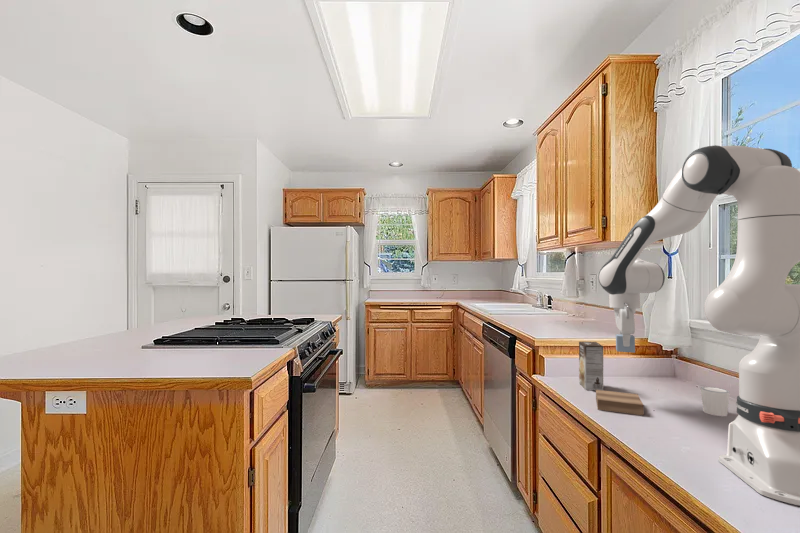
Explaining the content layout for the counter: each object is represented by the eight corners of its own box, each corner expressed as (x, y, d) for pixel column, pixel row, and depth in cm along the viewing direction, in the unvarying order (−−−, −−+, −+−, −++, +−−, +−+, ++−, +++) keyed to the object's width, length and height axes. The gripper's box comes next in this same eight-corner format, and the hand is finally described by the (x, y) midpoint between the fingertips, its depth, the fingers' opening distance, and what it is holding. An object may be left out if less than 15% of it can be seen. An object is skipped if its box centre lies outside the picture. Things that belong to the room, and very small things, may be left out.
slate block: (635, 352, 126) (634, 336, 126) (617, 351, 128) (616, 335, 128) (633, 350, 130) (632, 335, 131) (616, 349, 132) (615, 334, 133)
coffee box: (578, 383, 150) (578, 341, 151) (596, 384, 149) (596, 341, 149) (585, 390, 141) (585, 345, 142) (604, 391, 140) (604, 345, 140)
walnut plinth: (643, 415, 115) (643, 405, 115) (597, 409, 120) (597, 399, 120) (637, 403, 126) (637, 394, 126) (595, 398, 131) (595, 389, 131)
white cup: (735, 417, 114) (735, 393, 114) (708, 415, 115) (708, 391, 115) (721, 410, 121) (721, 387, 121) (696, 408, 122) (695, 385, 122)
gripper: (639, 304, 119) (640, 350, 118) (631, 301, 138) (632, 341, 137) (615, 303, 122) (616, 348, 121) (611, 301, 140) (612, 340, 140)
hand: (625, 345), depth 129 cm, fingers closed on slate block, 5 cm apart
